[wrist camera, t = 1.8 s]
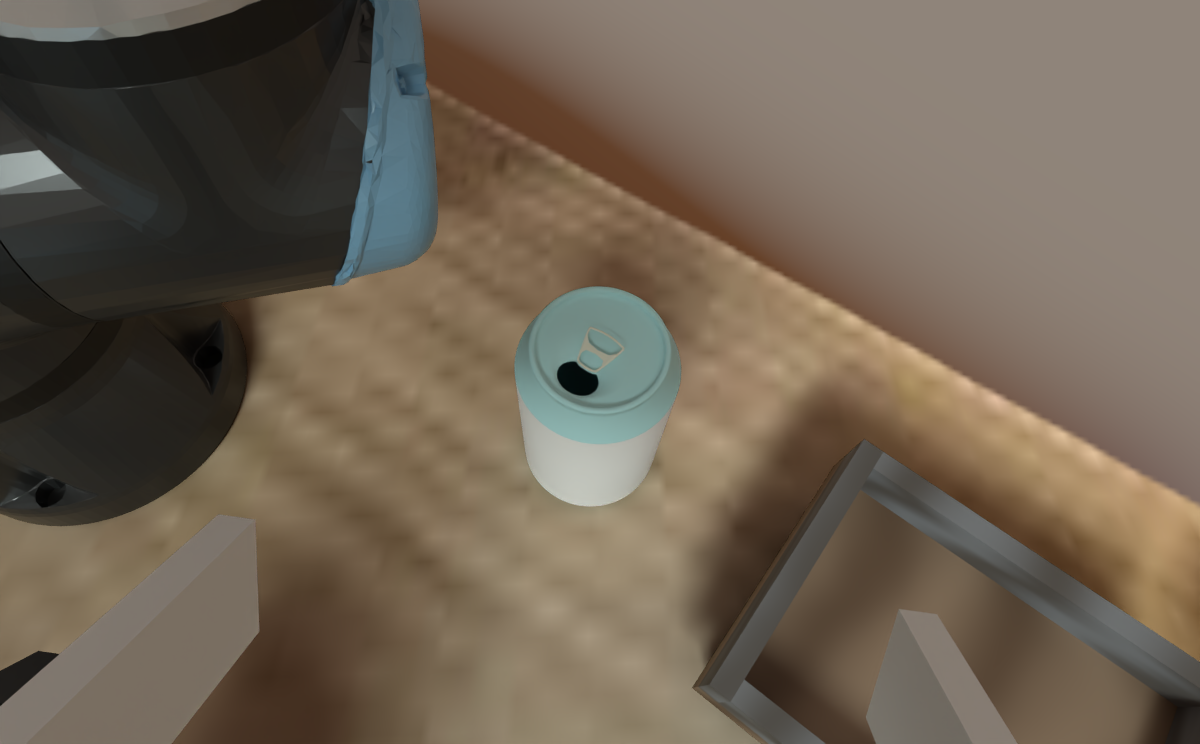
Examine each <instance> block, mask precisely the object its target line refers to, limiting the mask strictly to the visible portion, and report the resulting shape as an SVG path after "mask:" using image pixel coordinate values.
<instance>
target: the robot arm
mask: <svg viewBox="0 0 1200 744" xmlns="http://www.w3.org/2000/svg"><path fill="white" fill-rule="evenodd" d="M426 79H427V73H426V65H425V58H424V39H423V31H422V24H421V17H420V10H419V3H418V0H0V514H3V515H6V516H8V517H11V518H14V519H17V520H20V521H24V522H28V523H33V524H39V525H48V526H71V525H81V524H88V523H94V522H99V521H103V520H107V519H110V518H114V517H117V516H120V515H123V514H125V513H128V512H131V511H133V510H135V509H137V508H140V507H142V506H144V505H146V504H148V503H150V502H152V501H154V500H155V499H157V498H159V497H160V496H162V495H164V494H165V493H167V492H168V491H170V490H171V489H173V488H174V487H176V486H177V485H178V484H180V483H181V482H182V481H184V480H185V479H186V478H187V477H188V476H190V475H191V474H192V473H193V472H194V471H195V470H196V469H197V468H198V467H199V466H200V465H201V464H202V463H203V462H204V461H205V460H206V459H207V458H208V457H209V456H210V455H211V453H212V452H213V451H214V450H215V448H216V447H217V446H218V445H219V443H220V442H221V440H222V439H223V437H224V436H225V434H226V433H227V431H228V429H229V428H230V426H231V424H232V422H233V420H234V418H235V416H236V413H237V411H238V409H239V406H240V403H241V400H242V397H243V393H244V389H245V383H246V374H247V359H246V351H245V346H244V342H243V339H242V336H241V333H240V331H239V328H238V326H237V324H236V323H235V321H234V319H233V318H232V316H231V315H230V314H229V312H228V311H227V310H226V309H225V307H224V306H223V305H222V304H221V303H222V302H228V301H234V300H240V299H247V298H253V297H259V296H265V295H272V294H278V293H284V292H290V291H296V290H303V289H309V288H315V287H321V286H328V285H332V286H338V285H344V284H345V283H347V282H349V280H350V279H352V278H356V277H360V276H364V275H368V274H373V273H377V272H381V271H385V270H389V269H393V268H398V267H402V266H405V265H408V264H410V263H412V262H414V261H416V260H417V259H418V258H419V257H421V256H422V255H423V254H424V253H425V252H426V251H427V250H428V249H429V247H430V246H431V244H432V242H433V240H434V237H435V234H436V229H437V223H438V189H437V169H436V156H435V143H434V131H433V122H432V113H431V104H430V97H429V92H428V89H427V87H426ZM258 633H259V606H258V579H257V551H256V524H255V519H248V518H241V517H234V516H226V515H219V514H218V515H217V516H216V517H215V518H214V519H213V520H211V521H210V522H209V523H208V524H207V525H206V526H205V527H203V528H202V529H201V530H200V531H199V532H198V533H197V534H195V535H194V536H193V537H192V538H191V539H190V540H189V541H188V542H186V543H185V544H184V545H183V546H182V547H181V548H180V549H178V550H177V551H176V552H175V553H174V554H173V555H172V556H170V557H169V558H168V559H167V560H166V561H165V562H164V563H163V564H161V565H160V566H159V567H158V568H157V569H156V570H155V571H153V572H152V573H151V574H150V575H149V576H148V577H147V578H145V579H144V580H143V581H142V582H141V583H140V584H139V585H138V586H136V587H135V588H134V589H133V590H132V591H131V592H130V593H128V594H127V595H126V596H125V597H124V598H123V599H122V600H120V601H119V602H118V603H117V604H116V605H115V606H114V607H113V608H111V609H110V610H109V611H108V612H107V613H106V614H105V615H103V616H102V617H101V618H100V619H99V620H98V621H97V622H95V623H94V624H93V625H92V626H91V627H90V628H89V629H88V630H86V631H85V632H84V633H83V634H82V635H81V636H80V637H78V638H77V639H76V640H75V641H74V642H73V643H72V644H70V645H69V646H68V647H67V648H66V649H65V650H64V651H63V652H61V653H60V654H56V653H49V652H42V651H38V652H36V653H34V654H32V655H30V656H28V657H26V658H24V659H22V660H20V661H18V662H17V663H15V664H13V665H11V666H9V667H7V668H5V669H3V670H1V671H0V744H172V743H173V741H174V740H175V739H176V738H177V736H178V735H179V734H180V732H181V731H182V730H183V729H184V727H185V726H186V725H187V723H188V722H189V721H190V720H191V718H192V717H193V716H194V714H195V713H196V712H197V711H198V709H199V708H200V707H201V706H202V704H203V703H204V702H205V700H206V699H207V698H208V697H209V695H210V694H211V693H212V691H213V690H214V689H215V688H216V686H217V685H218V684H219V682H220V681H221V680H222V679H223V677H224V676H225V675H226V674H227V672H228V671H229V670H230V668H231V667H232V666H233V665H234V663H235V662H236V661H237V659H238V658H239V657H240V656H241V654H242V653H243V652H244V651H245V649H246V648H247V647H248V645H249V644H250V643H251V642H252V640H253V639H254V638H255V636H256V635H257V634H258ZM866 719H867V722H868V724H869V727H870V729H871V732H872V734H873V737H874V740H875V742H876V744H1017V742H1016V740H1015V739H1014V737H1013V735H1012V734H1011V732H1010V731H1009V729H1008V727H1007V726H1006V724H1005V723H1004V721H1003V719H1002V718H1001V716H1000V715H999V713H998V711H997V710H996V708H995V707H994V705H993V703H992V702H991V700H990V699H989V697H988V695H987V694H986V692H985V691H984V689H983V687H982V686H981V684H980V683H979V681H978V679H977V678H976V676H975V675H974V673H973V671H972V670H971V668H970V666H969V665H968V663H967V662H966V660H965V658H964V657H963V655H962V654H961V652H960V650H959V649H958V647H957V646H956V644H955V642H954V641H953V639H952V638H951V636H950V634H949V633H948V631H947V630H946V628H945V626H944V625H943V623H942V622H941V620H940V618H939V617H938V615H937V614H932V613H925V612H918V611H910V610H903V609H899V610H898V613H897V616H896V620H895V623H894V626H893V629H892V633H891V636H890V639H889V643H888V646H887V649H886V652H885V656H884V659H883V662H882V666H881V669H880V672H879V675H878V679H877V682H876V685H875V688H874V692H873V695H872V698H871V702H870V705H869V708H868V711H867V715H866Z"/></svg>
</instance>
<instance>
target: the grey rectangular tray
mask: <svg viewBox="0 0 1200 744" xmlns="http://www.w3.org/2000/svg"><path fill="white" fill-rule="evenodd" d="M899 609H903V610H910V611H918V612H925V613H932V614H937V615H938V617H939V618H940V620H941V622H942V623H943V625H944V626H945V628H946V630H947V631H948V633H949V634H950V636H951V638H952V639H953V641H954V642H955V644H956V646H957V647H958V649H959V650H960V652H961V654H962V655H963V657H964V658H965V660H966V662H967V663H968V665H969V666H970V668H971V670H972V671H973V673H974V675H975V676H976V678H977V679H978V681H979V683H980V684H981V686H982V687H983V689H984V691H985V692H986V694H987V695H988V697H989V699H990V700H991V702H992V703H993V705H994V707H995V708H996V710H997V711H998V713H999V715H1000V716H1001V718H1002V719H1003V721H1004V723H1005V724H1006V726H1007V727H1008V729H1009V731H1010V732H1011V734H1012V735H1013V737H1014V739H1015V740H1016V742H1017V744H1200V662H1199V661H1197V660H1196V659H1194V658H1193V657H1191V656H1190V655H1188V654H1187V653H1185V652H1184V651H1182V650H1181V649H1179V648H1178V647H1176V646H1175V645H1173V644H1172V643H1170V642H1169V641H1167V640H1166V639H1164V638H1163V637H1161V636H1160V635H1158V634H1157V633H1155V632H1154V631H1152V630H1151V629H1149V628H1148V627H1146V626H1145V625H1143V624H1142V623H1140V622H1139V621H1137V620H1136V619H1134V618H1133V617H1131V616H1130V615H1128V614H1127V613H1125V612H1124V611H1122V610H1121V609H1119V608H1118V607H1116V606H1115V605H1113V604H1112V603H1110V602H1109V601H1107V600H1106V599H1104V598H1103V597H1101V596H1100V595H1098V594H1097V593H1095V592H1093V591H1092V590H1090V589H1089V588H1087V587H1086V586H1084V585H1083V584H1081V583H1080V582H1078V581H1077V580H1075V579H1074V578H1072V577H1071V576H1069V575H1068V574H1066V573H1065V572H1063V571H1062V570H1060V569H1059V568H1057V567H1056V566H1054V565H1053V564H1051V563H1050V562H1048V561H1047V560H1045V559H1044V558H1042V557H1041V556H1039V555H1038V554H1036V553H1035V552H1033V551H1032V550H1030V549H1029V548H1027V547H1026V546H1024V545H1023V544H1021V543H1020V542H1018V541H1017V540H1015V539H1014V538H1012V537H1011V536H1009V535H1008V534H1006V533H1005V532H1003V531H1002V530H1000V529H999V528H997V527H996V526H994V525H993V524H991V523H990V522H988V521H987V520H985V519H984V518H982V517H981V516H979V515H978V514H976V513H975V512H973V511H972V510H970V509H969V508H967V507H966V506H964V505H963V504H961V503H960V502H958V501H957V500H955V499H954V498H952V497H951V496H949V495H948V494H946V493H945V492H943V491H942V490H940V489H939V488H937V487H936V486H934V485H933V484H931V483H930V482H928V481H927V480H925V479H924V478H922V477H921V476H919V475H918V474H916V473H915V472H913V471H911V470H910V469H908V468H907V467H905V466H904V465H902V464H901V463H899V462H898V461H896V460H895V459H893V458H892V457H890V456H889V455H887V454H886V453H884V452H883V451H881V450H880V449H878V448H877V447H875V446H874V445H872V444H871V443H869V442H868V441H866V440H865V439H864V440H863V441H862V442H860V443H859V444H858V445H857V446H856V447H855V448H854V449H853V450H852V451H850V452H849V453H848V454H847V455H846V456H845V457H844V458H843V459H841V460H840V461H839V462H838V463H837V464H836V465H835V466H834V467H833V469H832V470H831V472H830V473H829V475H828V476H827V478H826V479H825V481H824V483H823V484H822V486H821V487H820V489H819V490H818V492H817V494H816V495H815V497H814V498H813V500H812V501H811V503H810V505H809V506H808V508H807V509H806V511H805V512H804V514H803V515H802V517H801V519H800V520H799V522H798V523H797V525H796V526H795V528H794V530H793V531H792V533H791V534H790V536H789V537H788V539H787V540H786V542H785V544H784V545H783V547H782V548H781V550H780V551H779V553H778V555H777V556H776V558H775V559H774V561H773V562H772V564H771V565H770V567H769V569H768V570H767V572H766V573H765V575H764V576H763V578H762V580H761V581H760V583H759V584H758V586H757V587H756V589H755V590H754V592H753V594H752V595H751V597H750V598H749V600H748V601H747V603H746V605H745V606H744V608H743V609H742V611H741V612H740V614H739V615H738V617H737V619H736V620H735V622H734V623H733V625H732V626H731V628H730V630H729V631H728V633H727V634H726V636H725V637H724V639H723V641H722V642H721V644H720V645H719V647H718V648H717V650H716V651H715V653H714V655H713V656H712V658H711V659H710V661H709V662H708V664H707V666H706V667H705V669H704V670H703V672H702V673H701V675H700V676H699V678H698V680H697V681H696V683H695V684H694V686H693V687H692V688H693V689H694V690H695V691H697V692H698V693H699V694H700V695H702V696H703V697H704V698H705V699H707V700H708V701H709V702H710V703H711V704H713V705H714V706H715V707H716V708H718V709H719V710H720V711H721V712H723V713H724V714H725V715H726V716H728V717H729V718H730V719H731V720H733V721H734V722H735V723H736V724H738V725H739V726H740V727H741V728H742V729H744V730H745V731H746V732H747V733H749V734H750V735H751V736H752V737H754V738H755V739H756V740H757V741H759V742H760V743H761V744H876V742H875V740H874V737H873V734H872V732H871V729H870V727H869V724H868V722H867V719H866V715H867V711H868V708H869V705H870V702H871V698H872V695H873V692H874V688H875V685H876V682H877V679H878V675H879V672H880V669H881V666H882V662H883V659H884V656H885V652H886V649H887V646H888V643H889V639H890V636H891V633H892V629H893V626H894V623H895V620H896V616H897V613H898V610H899Z"/></svg>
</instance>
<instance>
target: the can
mask: <svg viewBox="0 0 1200 744" xmlns="http://www.w3.org/2000/svg"><path fill="white" fill-rule="evenodd" d="M515 380H516V387H517V394H518V401H519V409H520V416H521V423H522V431H523V438H524V445H525V452H526V458H527V461H528V464H529V467H530V469H531V471H532V473H533V475H534V477H535V478H536V479H537V481H538V482H539V483H540V484H541V485H542V487H544V488H545V489H546V490H547V491H548V492H549V493H551V494H552V495H554V496H555V497H557V498H559V499H561V500H563V501H565V502H568V503H571V504H575V505H580V506H602V505H606V504H610V503H613V502H616V501H618V500H620V499H622V498H624V497H626V496H627V495H629V494H630V493H631V492H633V491H634V490H635V489H636V488H637V487H638V486H639V485H640V484H641V482H642V481H643V480H644V478H645V477H646V475H647V474H648V471H649V469H650V467H651V464H652V461H653V459H654V456H655V453H656V450H657V448H658V445H659V442H660V440H661V437H662V434H663V431H664V429H665V426H666V423H667V420H668V418H669V415H670V412H671V409H672V407H673V404H674V401H675V398H676V396H677V393H678V390H679V386H680V380H681V362H680V356H679V352H678V349H677V346H676V343H675V341H674V339H673V337H672V335H671V333H670V332H669V330H668V329H667V327H666V326H665V324H664V322H663V320H662V319H661V317H660V316H659V315H658V313H657V312H656V311H655V310H654V309H653V308H652V307H651V306H650V305H649V304H647V303H646V302H645V301H643V300H642V299H640V298H639V297H637V296H635V295H633V294H631V293H629V292H626V291H623V290H620V289H616V288H611V287H602V286H594V287H585V288H580V289H576V290H573V291H570V292H568V293H565V294H563V295H561V296H560V297H558V298H556V299H555V300H554V301H552V302H551V303H550V304H549V305H547V306H546V307H545V308H544V309H543V311H542V312H541V313H540V314H539V315H538V316H537V317H536V318H535V319H534V320H533V321H532V322H531V323H530V325H529V326H528V327H527V329H526V331H525V332H524V334H523V336H522V338H521V340H520V342H519V345H518V348H517V352H516V356H515Z"/></svg>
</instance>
